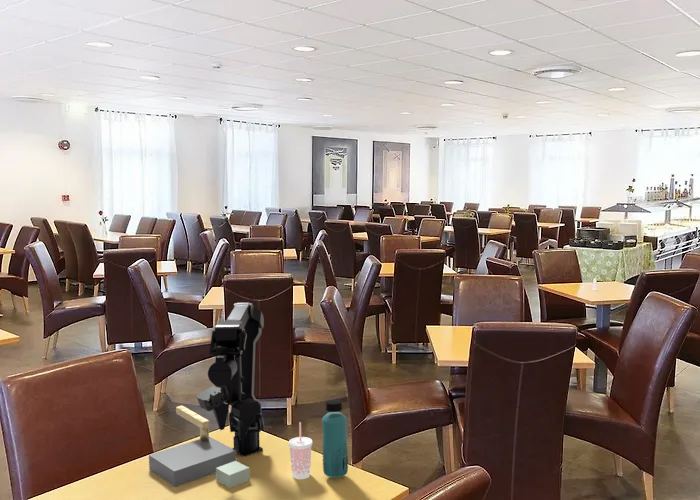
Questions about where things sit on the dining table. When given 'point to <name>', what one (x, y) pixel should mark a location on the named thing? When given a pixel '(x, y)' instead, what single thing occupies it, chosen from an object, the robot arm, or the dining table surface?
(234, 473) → the rectangular block
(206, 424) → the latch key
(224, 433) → the dining table surface
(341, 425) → the beverage bottle
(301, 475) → the beverage cup
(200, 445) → the box
